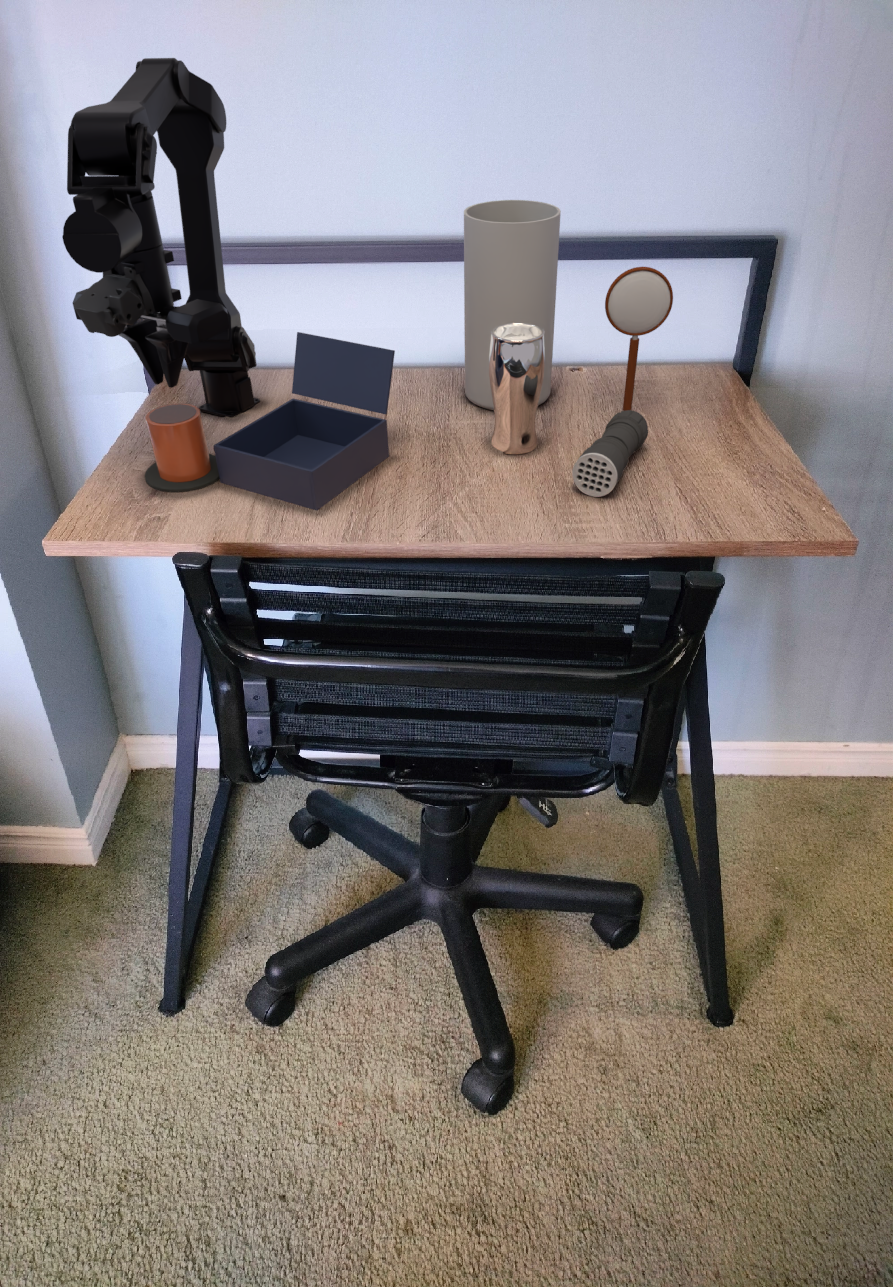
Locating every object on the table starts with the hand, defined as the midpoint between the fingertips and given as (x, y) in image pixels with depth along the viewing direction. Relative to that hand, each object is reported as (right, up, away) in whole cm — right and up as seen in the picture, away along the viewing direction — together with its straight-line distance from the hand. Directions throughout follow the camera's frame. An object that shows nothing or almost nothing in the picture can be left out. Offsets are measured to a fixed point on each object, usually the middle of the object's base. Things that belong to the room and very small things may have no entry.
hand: (166, 385), depth 106 cm
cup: (0, -9, +7) cm, 11 cm away
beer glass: (+42, -4, +13) cm, 44 cm away
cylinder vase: (+42, +6, +25) cm, 50 cm away
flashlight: (+54, -9, +6) cm, 55 cm away
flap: (+20, +4, +8) cm, 22 cm away
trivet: (0, -9, +7) cm, 12 cm away
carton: (+16, -9, +8) cm, 19 cm away
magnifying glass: (+58, +1, +19) cm, 61 cm away
